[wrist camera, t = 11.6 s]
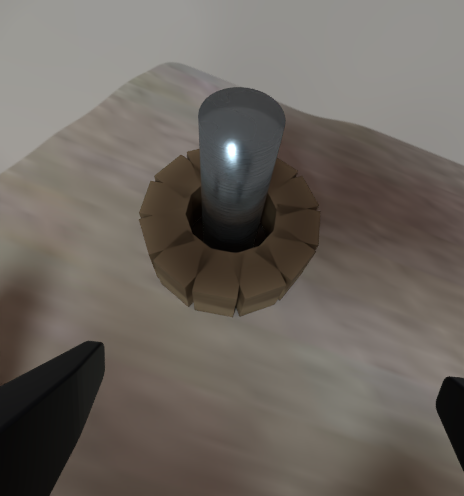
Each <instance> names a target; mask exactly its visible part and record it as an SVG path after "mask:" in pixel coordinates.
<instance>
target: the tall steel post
mask: <svg viewBox="0 0 464 496" xmlns="http://www.w3.org/2000/svg"><path fill="white" fill-rule="evenodd" d="M198 120H199V145H200V171H201V197H202V222H203V243H205V244H206V245H207V246H208V247H210V248H211V249H216V250H221V251H227V252H232V253H238V252H242V251H245V250H248V249H251V248H253V246H254V242H255V238H256V234H257V231H258V227H259V223H260V219H261V215H262V211H263V208H264V204H265V200H266V196H267V192H268V189H269V185H270V181H271V177H272V173H273V169H274V166H275V162H276V158H277V154H278V150H279V146H280V143H281V139H282V135H283V131H284V127H285V115H284V112H283V110H282V108H281V107H280V105H279V104H278V103H277V102H276V101H275V100H274V99H273V98H272V97H270V96H268V95H267V94H265V93H263V92H260V91H258V90H254V89H250V88H243V87H234V88H227V89H223V90H220V91H217V92H215V93H213V94H212V95H210V96H209V97H208V98H206V99H205V101H204V102H203V103H202V105H201V107H200V109H199V114H198Z"/></svg>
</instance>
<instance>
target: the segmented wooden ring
mask: <svg viewBox="0 0 464 496" xmlns="http://www.w3.org/2000/svg"><path fill="white" fill-rule="evenodd" d="M297 172H298V171H297V170H295V169H294V168H292V167H291V166H289V165H287V164H286V163H284V162H283V161H281V160H280V159H278V158H276V162H275V166H274V169H273V173H272V177H271V181H270V185H269V189H268V192H267V196H266V200H265V204H264V208H263V211H262V215H261V219H260V223H261V225H262V227H263V229H264V231H265V233H266V236H267V238H266V239H265V240H264V242H263V243H262V244H261V245H260V246H258V247H255V248H251V249H248V250H245V251H242V252H238V253H232V252H227V251H221V250H216V249H211V248H210V247H208V246H207V245H206V244H205V243H203V242H202V241H201V240H200V239H198V238H197V237H196V236H195V235H193V234H192V228H193V224H195V223H196V222H197V221H198V220H199V219H200V218H201V217H202V197H201V171H200V149H197V150H193V151H188V152H187V158H185V157H184V156H182V155H180V156H179V157H177V158H176V159H175V160H174V161H172V162H171V163H170V164H169V165H167V166H166V167H165V168H164V169H162V170H161V171H160V172H159V173H157V174H156V175H155V181H156V182H154V181H150V184H149V187H148V190H147V192H146V195H145V198H144V201H143V204H142V206H141V209H140V212H139V214H140V217H141V219H139V221H140V225H141V229H142V232H143V236H144V239H145V243H146V246H147V250H148V253H149V256H150V259H151V261H152V264H153V267H154V269H155V272H156V274H157V277H158V278H160V281H161V283H162V284H163V285H164V286H165V287H166V288H167V289H168V290H170V291H171V292H172V293H173V294H174V295H175V296H177V297H178V298H179V299H180V300H181V301H182V302H183V303H185V304H186V305H187V306H188V307H189V306H190V305H191V304H192V303H193V302H194V307H195V310H197V311H203V312H208V313H214V314H219V315H224V316H230V317H233V314H234V309H235V306H236V308H237V311H238V313H239V316H243V315H246V314H248V313H251V312H254V311H257V310H260V309H263V308H266V307H268V306H271V305H274V304H275V303H276V301H277V299H279V300H281V299H282V297H283V296H284V295H285V294H286V292H287V291H288V290H289V289H290V287H291V286H292V285H293V284H294V282H295V281H296V280H297V279H298V277H299V276H300V275H301V273H302V272H303V270H304V269H305V267H306V266H307V264H308V263H309V261H310V260H311V258H312V257H313V255H314V254H315V252H316V251H315V250H316V248H317V247H318V244H319V226H320V211H317V208H318V206H319V204H318V203H317V201H316V199H315V197H314V196H313V194H312V192H311V190H310V189H309V187H308V185H307V183H306V182H305V180H304V178H303V176H300V177H296V175H297Z"/></svg>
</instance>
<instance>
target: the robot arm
mask: <svg viewBox="0 0 464 496" xmlns="http://www.w3.org/2000/svg"><path fill="white" fill-rule="evenodd" d="M104 372H105V353H104V344H103V343H102V342H95V341H86V342H84V343H82V344H80V345H78V346H76V347H74V348H72V349H70V350H69V351H67V352H65V353H63V354H61V355H59V356H57V357H55V358H53V359H52V360H50V361H48V362H46V363H44V364H42V365H40V366H38V367H36V368H34V369H33V370H31V371H29V372H27V373H25V374H23V375H21V376H19V377H17V378H15V379H14V380H12V381H10V382H8V383H6V384H4V385H2V386H0V496H49V495H50V494H51V492H52V490H53V488H54V486H55V484H56V482H57V480H58V478H59V476H60V474H61V472H62V470H63V468H64V467H65V465H66V463H67V461H68V459H69V457H70V455H71V453H72V451H73V449H74V447H75V445H76V443H77V441H78V439H79V437H80V435H81V433H82V430H83V428H84V425H85V423H86V420H87V418H88V415H89V413H90V410H91V408H92V405H93V402H94V400H95V397H96V395H97V392H98V390H99V387H100V385H101V382H102V380H103V376H104ZM436 410H437V413H438V415H439V417H440V419H441V422H442V424H443V426H444V429H445V431H446V433H447V435H448V438H449V440H450V442H451V444H452V447H453V449H454V451H455V453H456V456H457V458H458V460H459V462H460V465H461V467H462V469H463V471H464V378H460V377H450V376H449V377H446V378H445V379H444V381H443V383H442V386H441V388H440V391H439V394H438V396H437V399H436Z"/></svg>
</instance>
